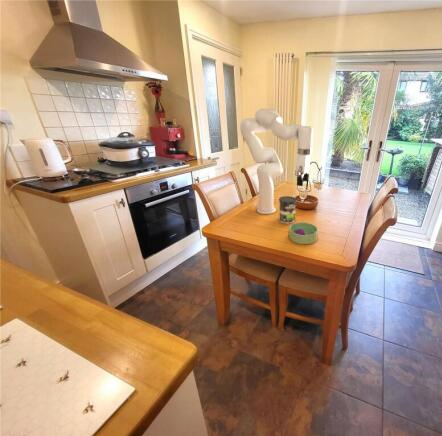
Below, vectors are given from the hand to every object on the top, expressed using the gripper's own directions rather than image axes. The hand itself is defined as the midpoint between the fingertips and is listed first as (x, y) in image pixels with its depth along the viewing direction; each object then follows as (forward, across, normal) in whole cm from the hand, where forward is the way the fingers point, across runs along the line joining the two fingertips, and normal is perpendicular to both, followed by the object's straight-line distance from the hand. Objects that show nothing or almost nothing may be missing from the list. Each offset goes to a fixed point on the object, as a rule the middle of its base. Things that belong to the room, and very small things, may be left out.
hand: (302, 183), depth 129 cm
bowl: (+26, +13, +6) cm, 30 cm away
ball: (+23, +15, +5) cm, 28 cm away
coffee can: (+26, -4, -10) cm, 29 cm away
